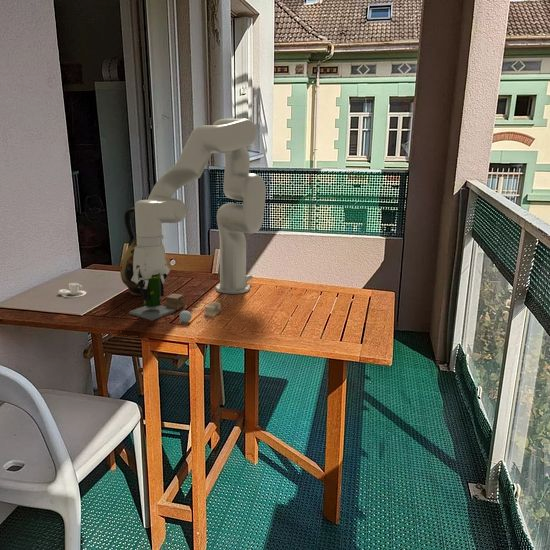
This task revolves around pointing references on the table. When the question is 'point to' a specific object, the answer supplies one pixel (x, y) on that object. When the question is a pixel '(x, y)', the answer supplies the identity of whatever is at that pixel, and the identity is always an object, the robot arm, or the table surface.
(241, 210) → the robot arm
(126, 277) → the ceramic jug
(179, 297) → the tan cube
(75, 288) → the teacup and saucer
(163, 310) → the coaster
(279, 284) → the table surface
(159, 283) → the beer can
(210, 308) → the beech block
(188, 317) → the grey ball
